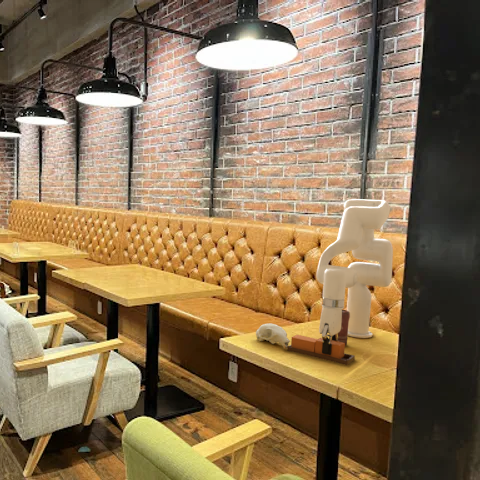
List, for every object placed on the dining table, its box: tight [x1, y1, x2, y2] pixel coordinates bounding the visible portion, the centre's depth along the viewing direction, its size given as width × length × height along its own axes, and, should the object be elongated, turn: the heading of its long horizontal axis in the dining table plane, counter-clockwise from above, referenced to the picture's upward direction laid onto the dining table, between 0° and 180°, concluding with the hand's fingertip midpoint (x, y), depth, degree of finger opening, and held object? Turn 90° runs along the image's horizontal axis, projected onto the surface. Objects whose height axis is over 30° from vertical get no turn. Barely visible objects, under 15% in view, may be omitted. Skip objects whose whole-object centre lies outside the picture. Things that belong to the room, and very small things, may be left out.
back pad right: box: [315, 337, 346, 359], centre depth 176 cm, size 5×9×5 cm, turn 51°
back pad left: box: [290, 334, 318, 353], centre depth 182 cm, size 5×9×5 cm, turn 51°
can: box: [336, 309, 350, 347], centre depth 193 cm, size 6×6×14 cm
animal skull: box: [255, 322, 291, 350], centre depth 190 cm, size 10×16×10 cm, turn 16°
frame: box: [286, 344, 356, 366], centre depth 179 cm, size 8×22×2 cm, turn 51°
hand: (329, 351), depth 176 cm, fingers closed on back pad right, 4 cm apart
